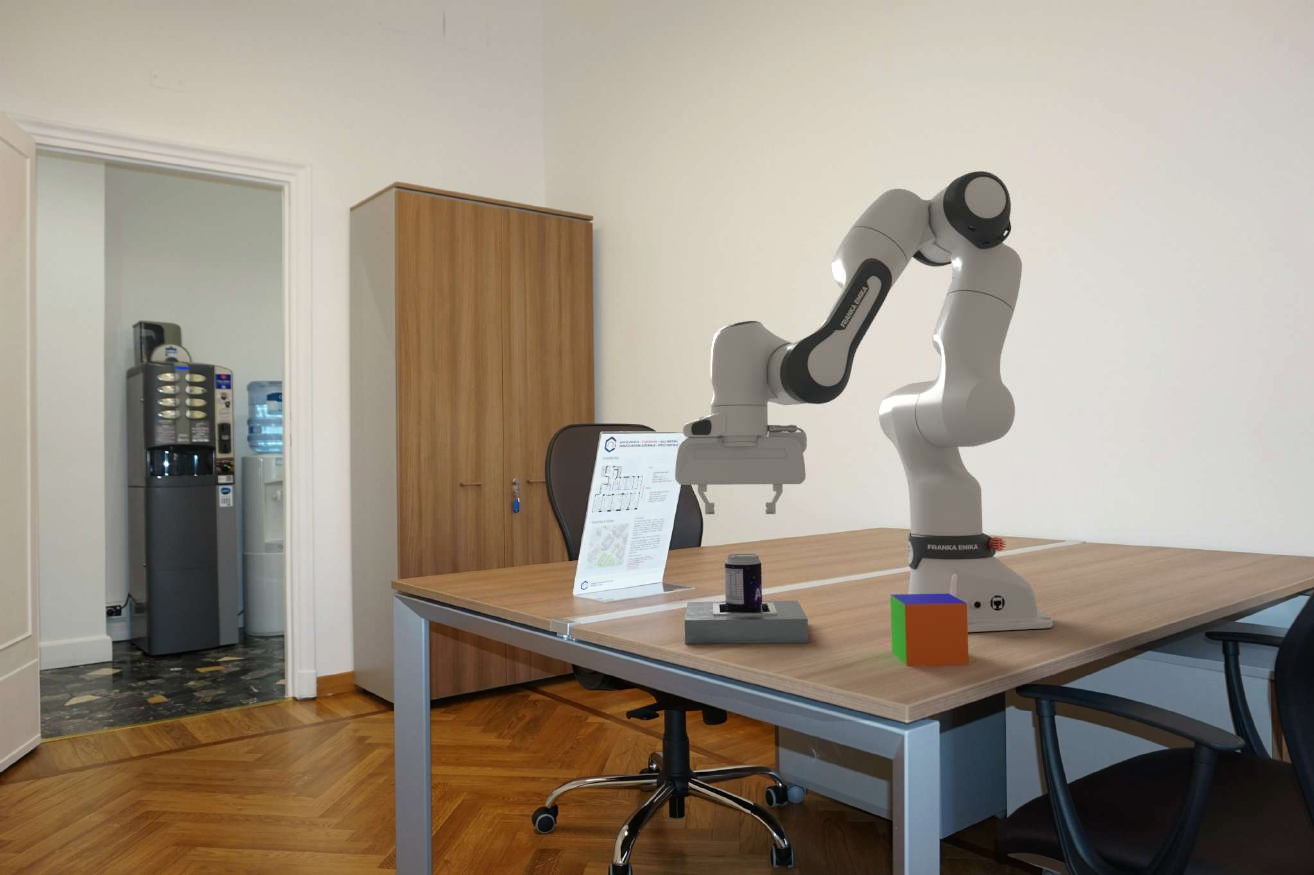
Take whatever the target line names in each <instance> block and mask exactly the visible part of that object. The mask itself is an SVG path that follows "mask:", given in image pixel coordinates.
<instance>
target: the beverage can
mask: <svg viewBox="0 0 1314 875" xmlns="http://www.w3.org/2000/svg"><path fill="white" fill-rule="evenodd" d="M759 556H760V555H759V554H757V553H732V554H730V553H729V554H728V555H727V556H726V557H727V558H726V560H725V563H724V584H725V585H724V590H725V602H726V613H729V612H762V601H763V581H762V580H763V576H762V575H763V574H762V562H761V560H760V559H759Z"/></svg>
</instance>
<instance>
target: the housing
mask: <svg viewBox="0 0 1314 875" xmlns="http://www.w3.org/2000/svg"><path fill="white" fill-rule="evenodd" d="M800 604H801V603H799V601H798V600H762V612H729V613H726V601H687V605H686V610H685V614H684V642H685V643H684V645H707V644H709V645H710V644H711V645H713V644H714V645H715V644H716V645H720V644H721V645H722V644H723V645H724V644H726V645H727V644H728V645H729V644H730V645H731V644H733V645H734V644H735V645H736V644H796V643H797V644H808V643H809V622H808V621H809V619H808V618H809V617H807V615H806V613H805V611H804V610H803V608H802V606H801V605H800Z"/></svg>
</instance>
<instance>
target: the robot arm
mask: <svg viewBox="0 0 1314 875" xmlns="http://www.w3.org/2000/svg"><path fill="white" fill-rule="evenodd" d="M1011 202H1012V201H1011V197H1010V192H1009V190H1008V188H1007V186H1006V184H1005V183H1004V181H1003V180H1002V179H1001V178H999V176H997V175H996V174H994V173H991V172H988V171H982V170H981V171H980V170H979V171H971V172H968V173H966V174H962V175H961V176H958V177H957V178H956V179H954V180H952V181H951V182H950V183H949V185H947V186H946V187H944V188H943V189H942V190H940V191H939V192H938V193H937V194H936V195H934V196H933V197H932V198H931V199H922V198H921V197H920V196H918V195H917V194H916V193H915V192H913V191H910V190H907V189H904V188H894V189H893V188H892V189H889V190H887V191H884V192H883V193H882V194H881V195H879V197H877V198H876V199H875V200H874V201H873V202H872V203H871V204H870V205H869V206H868V207H867V208H866V209H865V211H863V212H862V214H860V216H859V218H858V219H857V220H856V221H855V223H854V224H853V225H852V226H851V228H850V229H849V230H848V232H847V234H846V235H845V236H844V237H843V239H842V240H841V242H840V245H839V246H838V248H837V250H836V252H835V254H834V257H833V259H832V261H831V270H832V275H833V278H834V280H835V282H836V284H837V285H838V286H839V287H840V288H841V289H842V290H841V292H840V294H839V296H838V297H837V299H836V301H835V303H834V304H833V306H832V307H831V309H830V310H829V312H828V314H827V315H826V317H825V319H824V320H823V322H822V323H821V325H819V326H820V327H818V328H817V329H816V330H815V331H814V332H813V333H811V334H810V335H808V336H806V337H803V338H802V339H800V340H798V341H795V342H792V341H788V340H786V339H784V338H782V337H780V336H778V335H776V334H774V333H773V332H771V331H770V330H769V329H767V328H766V327H765V326H764V324H763V323H762V322H761V321H757V320H747V321H745V320H744V321H739V322H735V323H733V324H727V325H725V326H723V327H722V328H719V330H717V331H716V332H715V334H714V336H713V341H712V346H711V353H710V354H711V355H710V381H711V385H712V389H713V393H712V400H711V403H710V414H709V415H707V416H702V417H699V418H698V419H695V420H692V421H689V422H687V423H685V424H684V425H683V426H682V432H683V433H682V434H683V435H684V436H685V437H686V438H684V439H683V440H682V441H681V442H680V443H679V446H678V449H677V453H676V459H675V471H674V474H675V475H674V477H675V479H674V480H675V481H676V482H677V484H678V485H680V486H681V485H683V486H687V485H688V486H689V485H692V486H693V485H694V486H697V493H698V495H699V496H700V498H701V500H702V502H703V503H704V512H705V514H704V515H715V512H716V511H715V502H710V501H709V500H708V498H707V496H706V494H705V493H707V491H708V485H709V486H710V485H713V486H715V485H716V486H717V485H721V486H722V485H728V486H729V485H730V486H731V485H772V491H773V492H775V494H774V495H773V497H772V499H771V501H769V502H767V501H766V502H765V507H766V508H765V514H766V515H776V513H777V511H776V510H777V509H776V506H777V504H776V503H777V502H778V501H779V498H780V497H781V495H782V494H783V492H784V491H783V488H784V487H783V485H802V483H804V481H805V480H806V476H807V475H806V465H805V464H806V463H805V458H804V452H805V451H806V450H807V446H808V445H807V444H808V443H807V442H808V439H807V434H806V432H805V430H804V429H802V428H801V427H797V425H796V424H788V425H780V424H769V421H768V419H769V418H768V417H769V416H768V413H769V412H768V406H769V405H768V402H770V403H774V404H778V405H782V406H791V405H794V406H795V405H805V404H808V405H809V404H810V405H811V404H812V405H822V404H823V405H824V404H827V403H830V402H832V401H834V400H835V399H837V398H838V397H839V396H840V395H841V394H843V392H844V390H845V389H846V387H847V386H848V383H849V380H850V378H851V373H852V368H853V365H854V359H855V356H856V352H857V351H858V348H859V346H860V344H861V342H862V341H863V339H864V337H865V335H866V334H867V332H868V331H869V329H870V327H871V325H872V323H873V322H874V320H875V319H876V317H877V315H878V313H879V312H880V309H881V307H882V306H883V305H884V303H885V301H886V299H887V296H888V294H889V293H890V291H891V289H892V288H893V287H894V285H895V283H896V282H897V281H898V280H899V278H900V277H901V275H902V274H903V273H904V271H905V269H906V268H907V266H908V264H910V262H911V260H912V258H914V260H916V261H917V262H918V263H921V264H923V265H926V266H928V267H935V268H937V267H944V266H947V265H951V267H952V268H951V269H952V270H951V271H952V275H951V282H950V285H949V287H948V290H947V293H946V295H945V298H944V301H943V304H942V307H941V310H940V312H939V316H938V319H937V321H936V323H935V328H934V329H933V333H932V338H931V342H932V345H933V348H934V349H935V350H936V352H937V353H938V355H940V358H941V359H940V360H941V361H940V363H941V364H940V369H939V370H940V371H939V374H938V375H937V377H936V378H935V379H934V380H930V381H929V380H927V381H921V382H920V381H919V382H912V383H908V384H906V385H903V386H901V387H899V388H897V389H895V390H894V391H891V392H890V393H888V394H887V395H886V396H885V397H884V399H883V400H882V402H881V405H880V408H879V412H878V420H879V425H880V429H881V431H882V432H883V434H884V435H885V436H886V438H887V439H889V441H890V442H892V444H893V446H894V448H895V449H896V451H897V454H898V456H899V459H900V461H901V464H902V467H903V469H904V472H905V477H906V481H907V487H908V496H909V498H908V499H909V514H910V515H909V518H910V520H909V521H910V532H909V533H908V534H907V535H908V537H907V539H908V540H907V560H908V565H909V569H910V571H909V572H910V575H909V582H908V583H909V585H908V592H907V594H948V593H949V594H951V595H952V596H954V597H956V598H958V599H960V600H962V601H964V602H966V603H967V625H968V633H975V632H976V633H978V632H997V631H1011V630H1012V631H1013V630H1016V631H1017V630H1031V629H1033V630H1034V629H1035V630H1036V629H1050V628H1052V627H1054V620H1053V618H1052V616H1050V615H1049V614H1048V613H1045V612H1044V611H1043V612H1042V611H1040V610H1038V606H1037V599H1036V596H1035V595H1036V594H1035V592H1034V589H1033V587H1032V585H1031V584H1030V583H1029V581H1028V580H1026V579H1025V578H1024V577H1023V576H1021V575H1020V574H1018V573H1017V572H1016V571H1014V570H1013V569H1012V568H1011V567H1009V566H1008V565H1007V564H1005V563H1004V562H1003V561H1001V560H1000V559H998V558H997V557H996V556H995V555H996V552H1001V551H1003V550H1004V548H1006V541H1004V539H1003V538H1000V537H999V536H994V537H992V536H989V535H988V534H986V533H985V532H983V507H982V506H983V504H982V500H983V498H982V487H981V484H980V482H979V481H978V480H977V479H976V477H974V476H973V475H972V474H971V473H970V472H969V470H968V469H967V468H966V466H965V464H964V462H963V459H962V456H961V454H960V450H959V448H970V447H971V448H974V447H978V446H982V445H986V444H988V443H992V442H995V441H997V440H1000V439H1002V438H1003V437H1005V436H1006V435H1007V434H1008V432H1009V431H1010V430H1011V428H1012V426H1013V423H1014V421H1015V416H1016V406H1015V402H1014V397H1013V395H1012V393H1011V391H1010V389H1009V388H1008V387H1007V386H1006V385H1005V384H1004V382H1003V380H1002V376H1001V375H1002V374H1001V357H1002V352H1003V349H1004V344H1005V342H1006V338H1007V335H1008V332H1009V328H1010V325H1011V321H1012V318H1013V317H1014V316H1013V315H1014V312H1015V309H1016V306H1017V301H1018V297H1019V292H1020V287H1021V281H1022V280H1021V279H1022V272H1023V271H1022V270H1023V262H1022V259H1021V257H1020V255H1019V253H1018V252H1017V251H1016V250H1015V249H1013V248H1012V247H1011V246H1009V245H1007V244H1005V243H1004V241H1006V239H1007V238H1008V237H1009V235H1010V234H1011V230H1012V225H1011V224H1012V223H1011V219H1010V218H1011V211H1012V204H1011Z"/></svg>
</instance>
